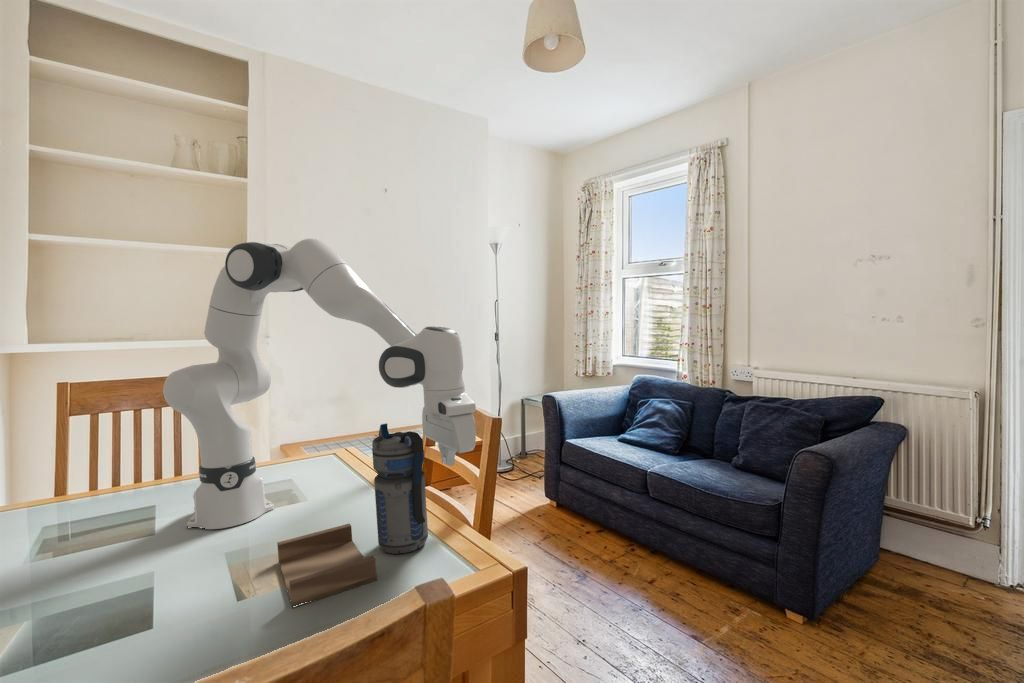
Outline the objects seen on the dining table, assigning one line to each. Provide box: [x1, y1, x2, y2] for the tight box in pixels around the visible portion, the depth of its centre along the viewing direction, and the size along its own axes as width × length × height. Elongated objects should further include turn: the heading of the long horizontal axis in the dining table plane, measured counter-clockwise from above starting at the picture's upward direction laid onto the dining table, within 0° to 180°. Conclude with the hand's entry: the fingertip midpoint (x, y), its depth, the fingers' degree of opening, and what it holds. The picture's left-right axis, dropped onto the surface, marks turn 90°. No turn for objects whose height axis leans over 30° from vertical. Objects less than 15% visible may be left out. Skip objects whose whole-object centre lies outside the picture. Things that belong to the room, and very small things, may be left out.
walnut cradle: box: [276, 523, 378, 608], centre depth 91 cm, size 19×14×4 cm
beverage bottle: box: [371, 423, 429, 555], centre depth 99 cm, size 10×13×25 cm
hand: (448, 464), depth 104 cm, fingers closed
